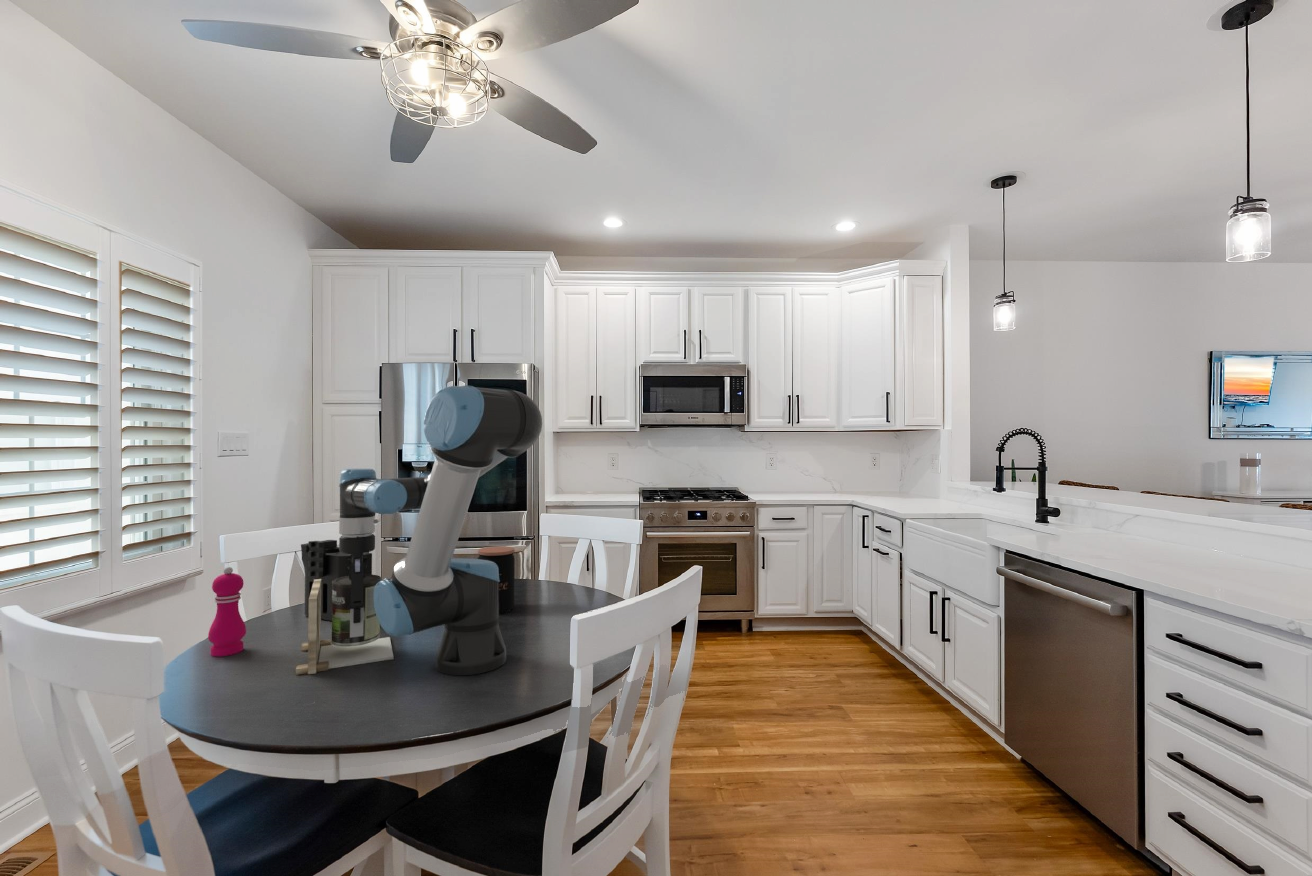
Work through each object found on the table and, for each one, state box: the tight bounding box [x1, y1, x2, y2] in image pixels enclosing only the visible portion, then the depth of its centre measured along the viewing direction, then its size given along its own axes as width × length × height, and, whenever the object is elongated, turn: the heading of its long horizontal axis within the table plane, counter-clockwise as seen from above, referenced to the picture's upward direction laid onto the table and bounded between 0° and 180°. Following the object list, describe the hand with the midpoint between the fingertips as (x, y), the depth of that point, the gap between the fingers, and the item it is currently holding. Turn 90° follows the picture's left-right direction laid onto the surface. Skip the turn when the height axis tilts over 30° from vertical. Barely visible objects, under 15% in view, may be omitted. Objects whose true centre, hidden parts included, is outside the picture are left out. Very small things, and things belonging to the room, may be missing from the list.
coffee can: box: [331, 574, 382, 646], centre depth 137 cm, size 10×10×14 cm
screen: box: [295, 579, 332, 676], centre depth 134 cm, size 20×6×16 cm, turn 28°
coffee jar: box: [477, 545, 516, 614], centre depth 173 cm, size 11×11×18 cm
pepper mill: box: [207, 566, 247, 658], centre depth 138 cm, size 7×7×20 cm
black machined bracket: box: [300, 539, 373, 622], centre depth 166 cm, size 12×21×22 cm, turn 67°
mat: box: [318, 636, 394, 670], centre depth 137 cm, size 15×15×1 cm
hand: (356, 629), depth 137 cm, fingers closed on coffee can, 10 cm apart
